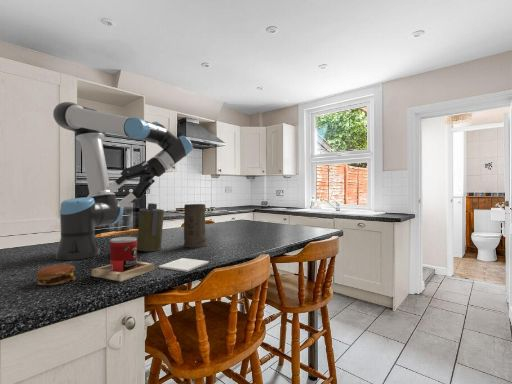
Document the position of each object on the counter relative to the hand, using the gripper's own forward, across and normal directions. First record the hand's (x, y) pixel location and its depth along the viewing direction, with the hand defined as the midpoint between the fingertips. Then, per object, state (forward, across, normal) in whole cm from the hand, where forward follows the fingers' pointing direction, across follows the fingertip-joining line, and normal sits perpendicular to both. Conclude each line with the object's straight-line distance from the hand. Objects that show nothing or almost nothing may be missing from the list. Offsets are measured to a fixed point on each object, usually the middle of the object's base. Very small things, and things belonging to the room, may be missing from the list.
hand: (114, 198), depth 105 cm
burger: (+29, -8, -15) cm, 33 cm away
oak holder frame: (+15, -3, -25) cm, 29 cm away
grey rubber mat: (0, +1, -36) cm, 36 cm away
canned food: (+15, -3, -25) cm, 29 cm away
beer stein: (-14, +35, -26) cm, 46 cm away
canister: (+3, +27, -14) cm, 31 cm away
